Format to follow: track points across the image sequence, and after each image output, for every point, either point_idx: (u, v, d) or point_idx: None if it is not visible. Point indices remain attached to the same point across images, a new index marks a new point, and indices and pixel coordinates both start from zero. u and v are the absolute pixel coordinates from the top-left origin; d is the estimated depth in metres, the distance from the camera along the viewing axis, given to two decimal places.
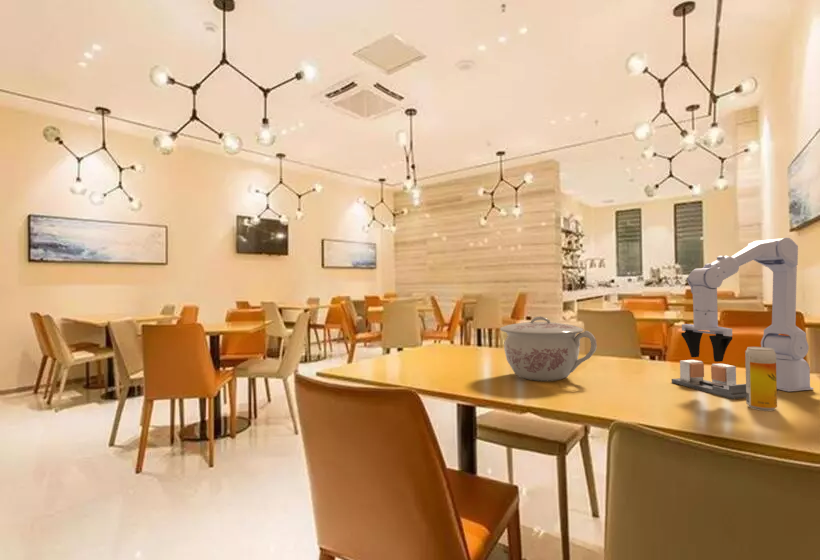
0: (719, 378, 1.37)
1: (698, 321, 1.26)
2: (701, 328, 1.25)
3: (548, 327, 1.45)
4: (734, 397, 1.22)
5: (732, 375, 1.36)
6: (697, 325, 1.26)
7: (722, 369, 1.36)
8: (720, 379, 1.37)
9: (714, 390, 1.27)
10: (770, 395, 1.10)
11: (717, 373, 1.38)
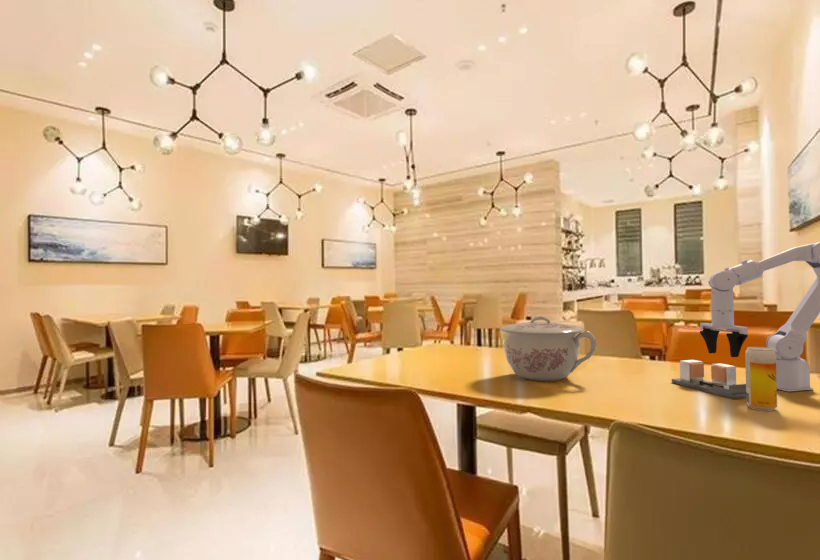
0: (719, 378, 1.37)
1: (716, 320, 1.38)
2: (719, 326, 1.37)
3: (548, 327, 1.45)
4: (734, 397, 1.22)
5: (732, 375, 1.36)
6: (715, 324, 1.38)
7: (722, 369, 1.36)
8: (720, 379, 1.37)
9: (714, 390, 1.27)
10: (770, 395, 1.10)
11: (717, 373, 1.38)
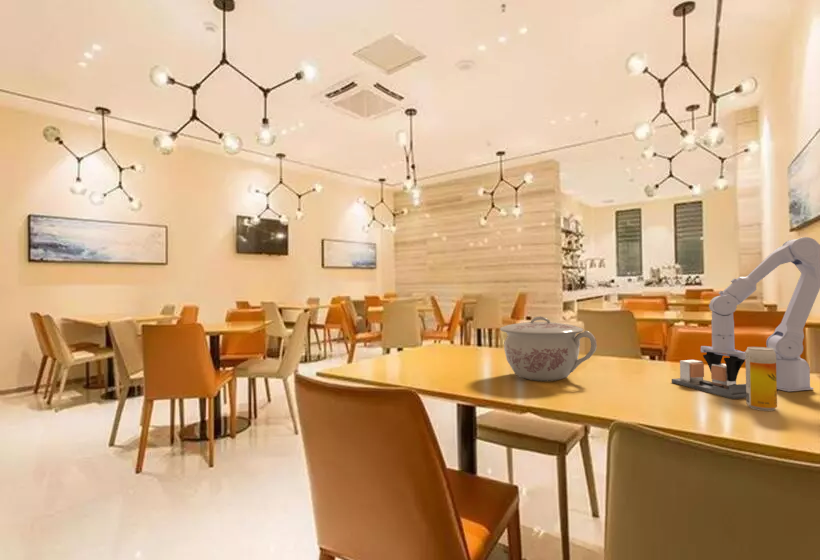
0: (719, 378, 1.37)
1: (716, 345, 1.38)
2: (719, 351, 1.37)
3: (548, 327, 1.45)
4: (734, 397, 1.22)
5: None
6: (715, 348, 1.38)
7: (722, 369, 1.36)
8: (720, 379, 1.37)
9: (714, 390, 1.27)
10: (770, 395, 1.10)
11: (717, 373, 1.38)
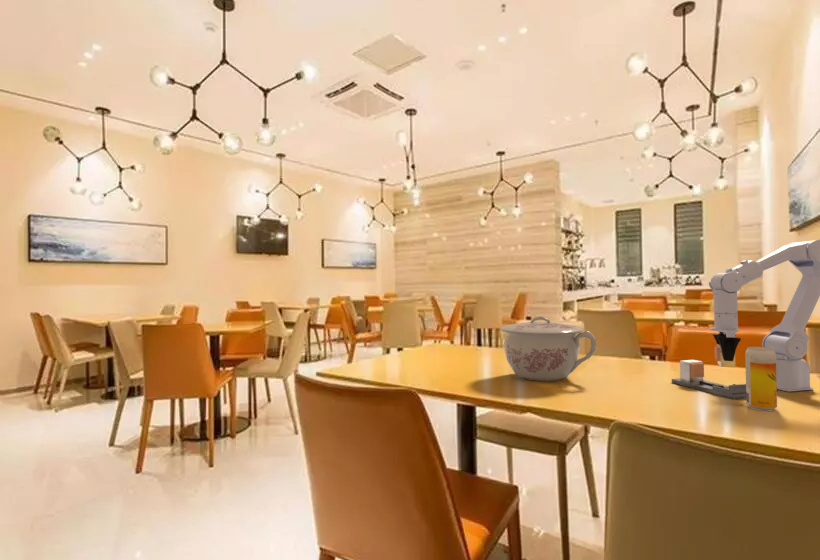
0: (716, 358, 1.34)
1: (714, 323, 1.34)
2: (715, 329, 1.33)
3: (548, 327, 1.45)
4: (734, 397, 1.22)
5: None
6: (714, 326, 1.35)
7: (717, 348, 1.33)
8: (716, 359, 1.33)
9: (714, 390, 1.27)
10: (770, 395, 1.10)
11: (715, 353, 1.34)
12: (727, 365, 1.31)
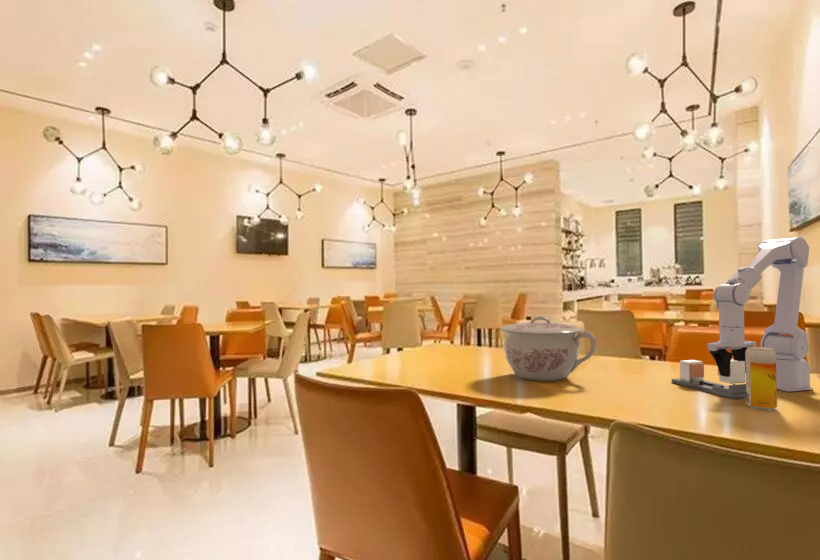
0: None
1: None
2: (719, 342, 1.28)
3: (548, 327, 1.45)
4: (734, 397, 1.22)
5: None
6: None
7: None
8: None
9: (714, 390, 1.27)
10: (770, 395, 1.10)
11: None
12: (724, 380, 1.26)
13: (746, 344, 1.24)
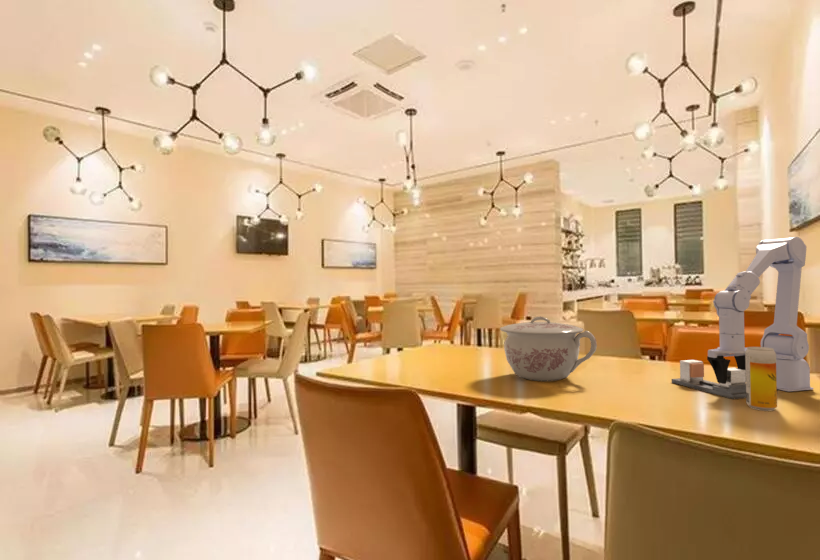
0: None
1: None
2: None
3: (548, 327, 1.45)
4: (734, 397, 1.22)
5: None
6: None
7: None
8: None
9: (714, 390, 1.27)
10: (770, 395, 1.10)
11: None
12: None
13: None
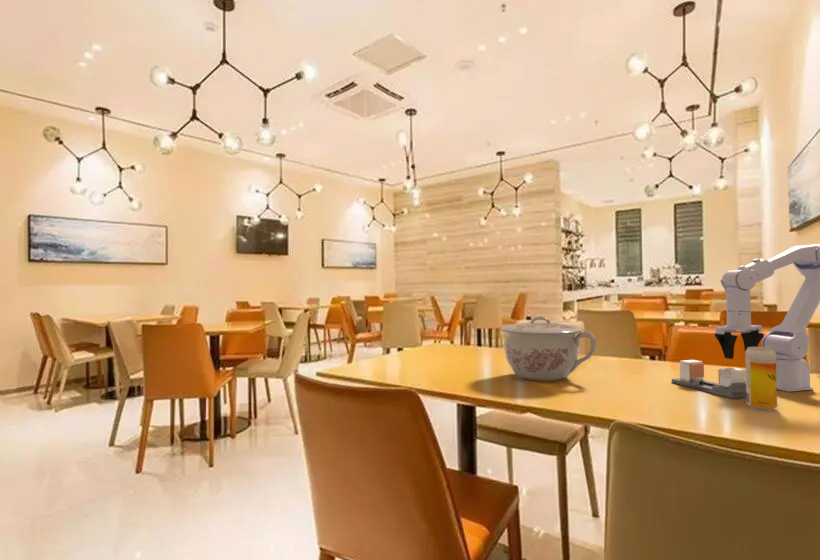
0: None
1: None
2: (726, 326, 1.34)
3: (548, 327, 1.45)
4: (734, 397, 1.22)
5: (726, 379, 1.25)
6: None
7: None
8: None
9: (714, 390, 1.27)
10: (770, 395, 1.10)
11: None
12: None
13: (752, 327, 1.29)
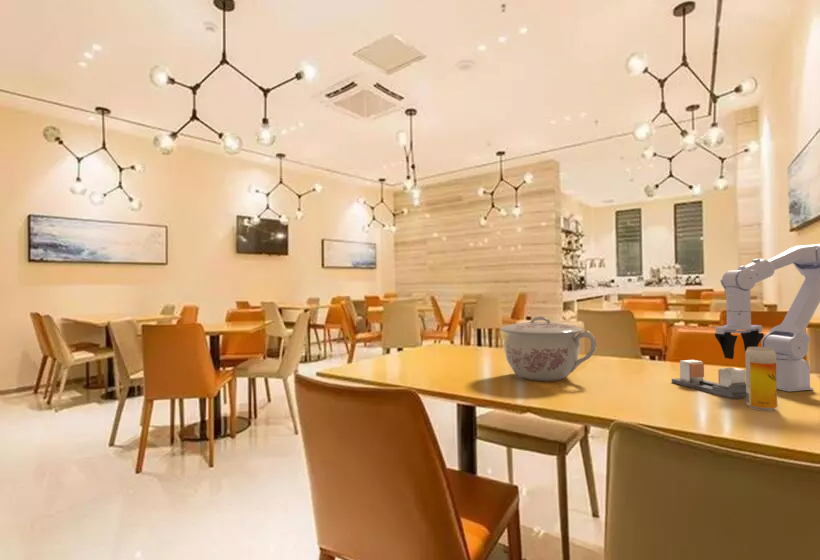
0: None
1: None
2: (726, 326, 1.34)
3: (548, 327, 1.45)
4: (734, 397, 1.22)
5: (726, 379, 1.25)
6: None
7: None
8: None
9: (714, 390, 1.27)
10: (770, 395, 1.10)
11: None
12: None
13: (752, 327, 1.29)
